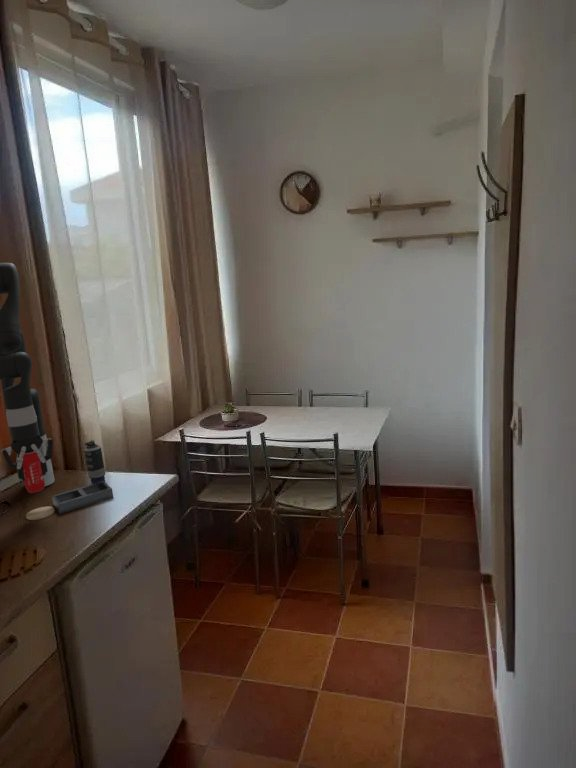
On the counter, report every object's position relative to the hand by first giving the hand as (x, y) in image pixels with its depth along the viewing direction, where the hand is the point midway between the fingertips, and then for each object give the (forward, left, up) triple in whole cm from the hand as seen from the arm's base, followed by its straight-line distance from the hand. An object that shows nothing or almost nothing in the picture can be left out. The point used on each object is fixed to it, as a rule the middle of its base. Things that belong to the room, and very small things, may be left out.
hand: (33, 477), depth 159 cm
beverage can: (0, 0, -4) cm, 4 cm away
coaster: (0, 0, -12) cm, 12 cm away
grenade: (-13, +20, -12) cm, 27 cm away
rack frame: (0, +13, -12) cm, 17 cm away
